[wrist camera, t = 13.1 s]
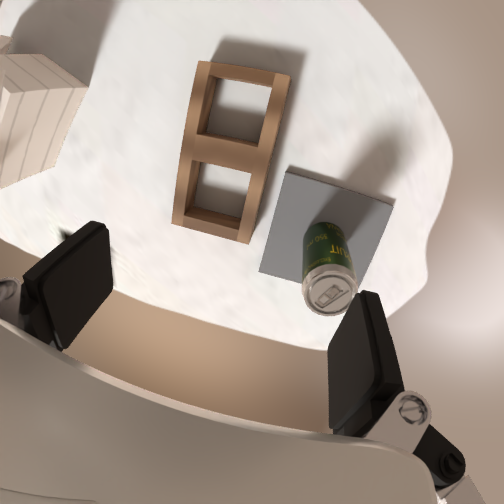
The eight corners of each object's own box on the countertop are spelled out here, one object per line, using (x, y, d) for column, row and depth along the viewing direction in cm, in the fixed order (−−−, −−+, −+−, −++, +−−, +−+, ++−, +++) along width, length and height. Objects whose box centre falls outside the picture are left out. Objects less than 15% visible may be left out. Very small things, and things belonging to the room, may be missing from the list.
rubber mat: (285, 171, 34) (285, 172, 33) (391, 204, 33) (393, 206, 32) (259, 268, 40) (258, 271, 40) (353, 294, 40) (353, 297, 39)
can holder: (208, 65, 29) (198, 60, 26) (291, 79, 29) (290, 75, 25) (181, 214, 38) (171, 223, 35) (253, 233, 38) (248, 244, 35)
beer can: (324, 265, 38) (329, 326, 27) (294, 240, 37) (289, 296, 26) (353, 238, 35) (371, 293, 25) (322, 210, 34) (331, 258, 24)
